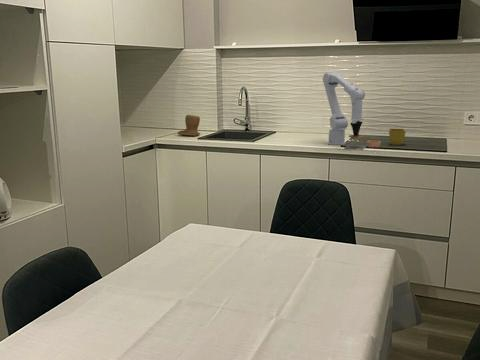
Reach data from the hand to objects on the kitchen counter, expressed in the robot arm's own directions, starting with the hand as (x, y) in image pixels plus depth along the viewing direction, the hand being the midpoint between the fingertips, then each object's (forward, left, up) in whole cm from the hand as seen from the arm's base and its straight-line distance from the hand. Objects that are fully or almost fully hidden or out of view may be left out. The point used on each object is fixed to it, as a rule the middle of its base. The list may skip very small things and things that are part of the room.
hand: (356, 134), depth 282 cm
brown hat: (-121, +14, -8) cm, 122 cm away
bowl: (+9, +8, -8) cm, 14 cm away
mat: (0, 0, -8) cm, 8 cm away
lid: (0, 0, -1) cm, 1 cm away
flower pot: (+20, +19, -8) cm, 29 cm away
